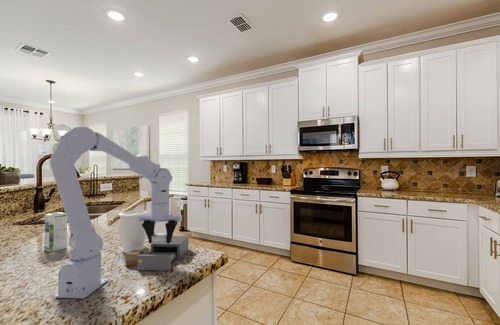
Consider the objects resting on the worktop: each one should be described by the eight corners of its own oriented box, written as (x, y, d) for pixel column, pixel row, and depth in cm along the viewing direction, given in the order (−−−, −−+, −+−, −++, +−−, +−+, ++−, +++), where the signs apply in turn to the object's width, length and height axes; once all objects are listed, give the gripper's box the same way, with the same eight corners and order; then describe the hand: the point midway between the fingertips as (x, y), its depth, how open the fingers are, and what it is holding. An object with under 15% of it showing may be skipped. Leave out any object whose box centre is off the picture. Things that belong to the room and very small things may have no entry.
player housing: (179, 259, 83) (179, 244, 83) (150, 259, 84) (150, 243, 84) (188, 249, 93) (188, 235, 93) (162, 249, 94) (162, 235, 94)
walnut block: (137, 266, 78) (137, 254, 78) (125, 265, 78) (125, 254, 78) (143, 261, 82) (143, 249, 82) (132, 261, 82) (132, 249, 82)
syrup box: (43, 250, 93) (43, 213, 93) (60, 245, 98) (61, 211, 99) (50, 252, 90) (50, 215, 91) (67, 247, 96) (68, 212, 96)
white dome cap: (164, 243, 77) (164, 237, 77) (148, 243, 77) (148, 237, 77) (171, 237, 82) (171, 232, 82) (156, 237, 83) (156, 232, 83)
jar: (135, 255, 87) (135, 215, 88) (112, 253, 89) (112, 214, 90) (152, 246, 98) (153, 210, 98) (131, 244, 100) (131, 209, 100)
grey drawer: (168, 271, 74) (168, 256, 74) (136, 270, 74) (136, 256, 74) (180, 257, 85) (180, 245, 85) (152, 257, 85) (152, 244, 85)
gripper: (184, 201, 83) (185, 239, 83) (145, 200, 84) (145, 238, 84) (177, 204, 76) (177, 245, 76) (134, 204, 77) (134, 245, 77)
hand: (160, 242), depth 80 cm, fingers closed on white dome cap, 6 cm apart
